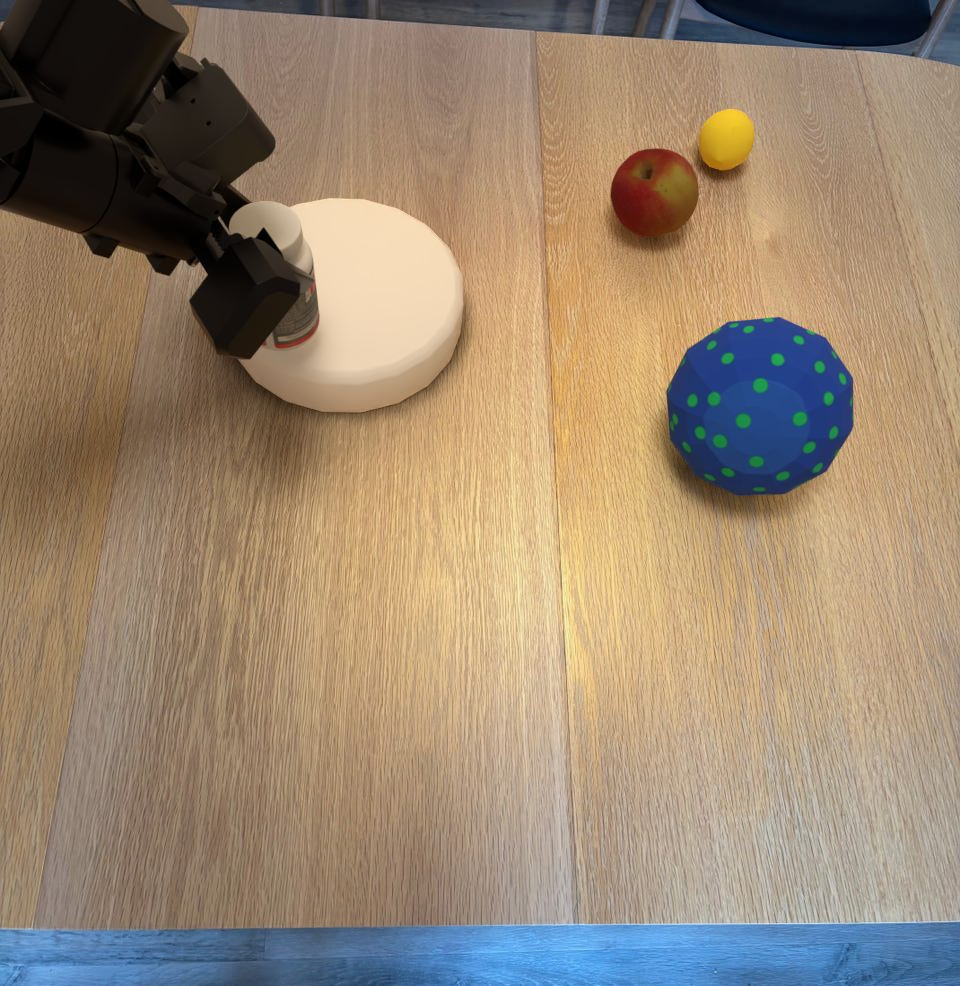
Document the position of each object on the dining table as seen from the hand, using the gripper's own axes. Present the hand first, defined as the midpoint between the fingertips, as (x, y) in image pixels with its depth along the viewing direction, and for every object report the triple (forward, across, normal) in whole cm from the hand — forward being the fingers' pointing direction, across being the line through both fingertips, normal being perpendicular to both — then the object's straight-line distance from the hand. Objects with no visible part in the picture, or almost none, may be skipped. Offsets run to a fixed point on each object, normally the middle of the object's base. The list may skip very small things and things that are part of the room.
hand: (289, 255), depth 60 cm
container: (+13, +3, +5) cm, 15 cm away
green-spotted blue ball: (+28, -24, -10) cm, 38 cm away
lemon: (+43, +3, -25) cm, 50 cm away
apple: (+34, -1, -16) cm, 38 cm away
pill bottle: (+4, 0, +6) cm, 7 cm away
